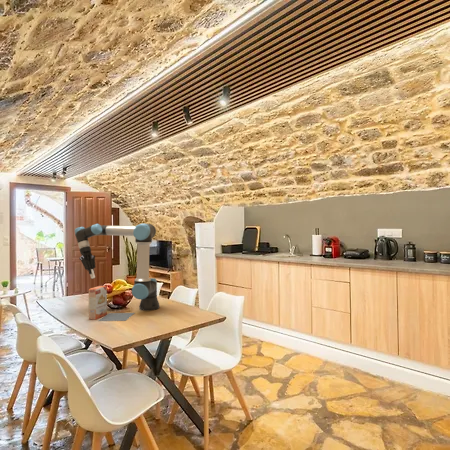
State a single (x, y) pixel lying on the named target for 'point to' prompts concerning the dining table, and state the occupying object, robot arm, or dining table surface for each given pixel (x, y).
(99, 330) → the dining table surface
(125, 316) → the mat
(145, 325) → the dining table surface
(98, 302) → the cracker box
